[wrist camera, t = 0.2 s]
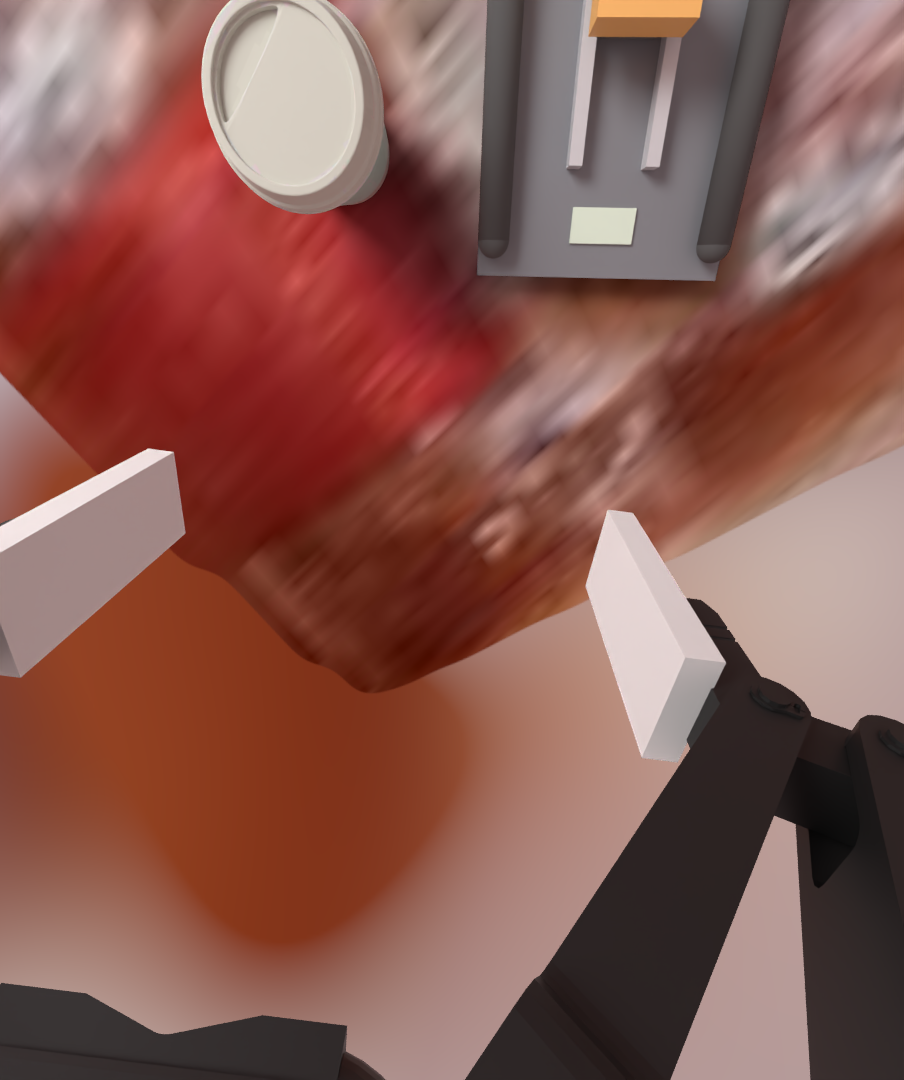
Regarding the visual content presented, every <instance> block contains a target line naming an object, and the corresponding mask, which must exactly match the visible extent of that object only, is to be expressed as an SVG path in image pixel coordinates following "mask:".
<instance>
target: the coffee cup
mask: <svg viewBox="0 0 904 1080" xmlns="http://www.w3.org/2000/svg"><path fill="white" fill-rule="evenodd" d="M202 91H203V97H204V104H205V108H206V112H207V115H208V119H209V122H210V124H211V127H212V130H213V132H214V135H215V138H216V140H217V142H218V144H219V147H220V149H221V151H222V153H223V154H224V156H225V158H226V160H227V161H228V163H229V164H230V166H231V167H232V169H233V170H234V171H235V172H236V174H237V175H238V176H239V177H240V178H241V179H242V181H243V182H244V183H245V184H246V185H247V186H248V187H249V188H250V189H252V190H253V191H254V192H255V193H256V194H257V195H259V196H260V197H261V198H263V199H264V200H266V201H267V202H269V203H270V204H272V205H274V206H276V207H278V208H281V209H283V210H286V211H290V212H294V213H301V214H315V213H321V212H325V211H329V210H331V209H334V208H336V207H338V206H342V205H353V204H359V203H362V202H364V201H366V200H368V199H369V198H371V197H372V196H373V195H374V194H375V193H376V192H377V191H378V190H379V189H380V187H381V185H382V184H383V182H384V180H385V177H386V174H387V171H388V166H389V156H390V154H389V143H388V138H387V133H386V129H385V125H384V105H383V95H382V89H381V84H380V80H379V76H378V72H377V69H376V66H375V63H374V61H373V58H372V56H371V54H370V52H369V50H368V48H367V46H366V44H365V42H364V40H363V39H362V37H361V35H360V34H359V32H358V31H357V29H356V28H355V27H354V26H353V24H352V23H351V22H350V21H349V20H348V18H347V17H346V16H345V15H344V14H343V13H342V12H341V11H340V10H338V9H337V8H336V7H335V6H334V5H332V4H331V3H329V2H328V1H327V0H230V1H229V2H228V3H227V4H226V6H225V7H224V8H223V9H222V10H221V12H220V13H219V14H218V16H217V18H216V19H215V21H214V23H213V25H212V27H211V29H210V32H209V35H208V37H207V40H206V44H205V48H204V54H203V60H202Z"/></svg>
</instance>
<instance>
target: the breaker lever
mask: <svg viewBox="0 0 904 1080" xmlns="http://www.w3.org/2000/svg"><path fill="white" fill-rule="evenodd" d="M702 2H703V0H592V7H591V16H590V25H589V34H588V37H601V39H612V40H655V38H656V37H683V36H684V35H685V34H686V33H687V32H688V30H689V29H690V28H691V27H692V26H693V25H694V23H695V22H696V21H697V20H698V19H699V18H700V12H701V7H702Z"/></svg>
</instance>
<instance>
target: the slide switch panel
mask: <svg viewBox="0 0 904 1080" xmlns="http://www.w3.org/2000/svg"><path fill="white" fill-rule="evenodd" d="M748 2H749V0H703V2H702V7H701V12H700V18H699V19H698V20H697V21H696V22H695V23H694V25H693V26H692V27H691V28H690V29H689V30H688V32H687V33H686V34H685V35H684V36H683V37H656V38H655V40H612V39H601V37H588V34H589V25H590V16H591V7H592V0H524V14H523V30H522V45H521V61H520V77H519V93H518V109H517V124H516V140H515V156H514V172H513V188H512V204H511V219H510V235H509V245H508V248H507V250H506V252H505V253H504V254H503V255H502V256H500V257H498V258H494V259H492V258H488V257H486V256H484V255H483V254H482V252H481V251H480V248H479V245H478V263H477V275H486V276H528V277H570V278H613V279H655V280H698V281H715V279H716V274H717V270H718V266H719V262H720V261H718V262H715V263H705V262H703V261H701V260H700V259H699V258H698V256H697V253H696V247H697V241H698V237H699V232H700V227H701V223H702V218H703V213H704V209H705V204H706V199H707V195H708V190H709V185H710V181H711V176H712V171H713V166H714V162H715V157H716V152H717V148H718V143H719V138H720V134H721V129H722V124H723V120H724V115H725V110H726V106H727V101H728V96H729V91H730V87H731V82H732V77H733V73H734V68H735V63H736V59H737V54H738V49H739V45H740V40H741V35H742V31H743V26H744V21H745V16H746V12H747V7H748Z"/></svg>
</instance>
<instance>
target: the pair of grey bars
mask: <svg viewBox="0 0 904 1080" xmlns="http://www.w3.org/2000/svg"><path fill="white" fill-rule="evenodd" d="M789 2H790V0H749V2H748V7H747V12H746V16H745V21H744V26H743V31H742V35H741V40H740V45H739V49H738V54H737V59H736V63H735V68H734V73H733V77H732V82H731V87H730V91H729V96H728V101H727V106H726V110H725V115H724V120H723V124H722V129H721V134H720V138H719V143H718V148H717V152H716V157H715V162H714V166H713V171H712V176H711V181H710V185H709V190H708V195H707V199H706V204H705V209H704V213H703V218H702V223H701V227H700V232H699V237H698V241H697V247H696V253H697V256H698V258H699V259H700V260H701V261H703V262H705V263H715V262H718V261H720V260H721V259H723V258H724V257H725V256H726V255H727V253H728V252H729V250H730V247H731V243H732V239H733V235H734V231H735V227H736V223H737V218H738V214H739V210H740V206H741V202H742V198H743V194H744V189H745V185H746V181H747V177H748V173H749V169H750V164H751V160H752V156H753V152H754V148H755V144H756V140H757V135H758V131H759V127H760V123H761V119H762V115H763V110H764V106H765V102H766V98H767V94H768V90H769V86H770V81H771V77H772V73H773V69H774V65H775V61H776V56H777V52H778V48H779V44H780V40H781V36H782V32H783V27H784V23H785V19H786V15H787V11H788V7H789ZM523 14H524V0H487V26H486V52H485V78H484V104H483V129H482V155H481V181H480V207H479V233H478V245H479V248H480V251H481V252H482V254H483V255H484V256H486V257H488V258H492V259H494V258H498V257H500V256H502V255H503V254H504V253H505V252H506V250H507V248H508V245H509V235H510V219H511V204H512V188H513V172H514V156H515V140H516V124H517V109H518V93H519V77H520V61H521V45H522V30H523Z"/></svg>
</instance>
